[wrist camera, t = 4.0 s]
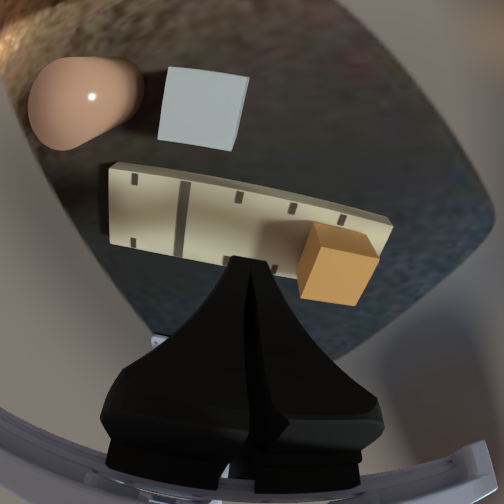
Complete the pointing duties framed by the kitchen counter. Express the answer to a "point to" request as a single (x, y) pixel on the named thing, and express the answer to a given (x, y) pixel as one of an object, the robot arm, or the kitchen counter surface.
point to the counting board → (223, 217)
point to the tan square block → (335, 265)
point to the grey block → (202, 107)
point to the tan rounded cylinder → (83, 99)
